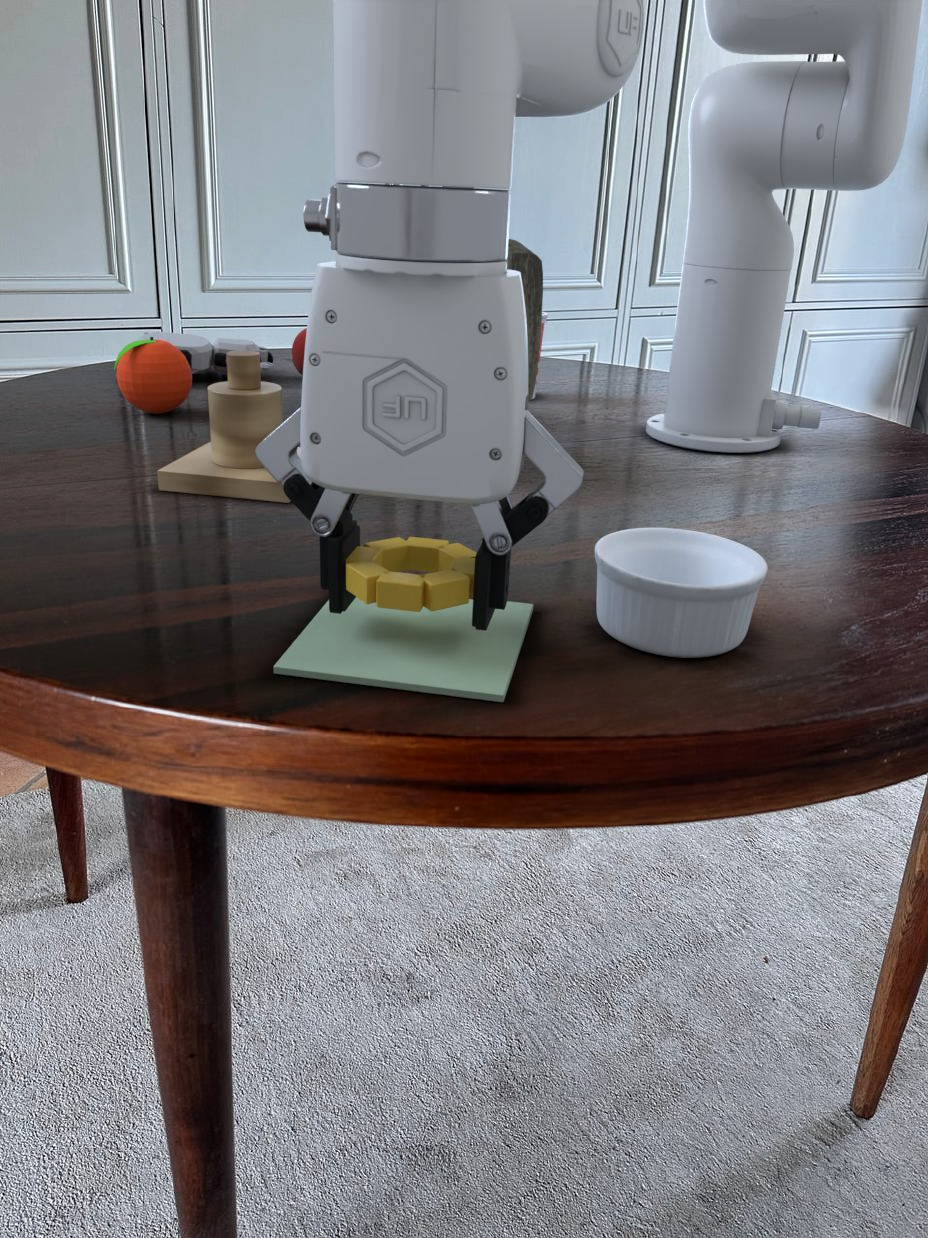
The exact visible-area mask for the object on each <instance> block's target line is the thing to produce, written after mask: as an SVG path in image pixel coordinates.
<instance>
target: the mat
mask: <svg viewBox="0 0 928 1238" xmlns="http://www.w3.org/2000/svg"><path fill="white" fill-rule="evenodd" d="M472 611H473V600H472V599H469V603H468V604H463V605H459V606H455V607H450V608H446V609H441V610H437V611H430V610H428V609H427V608H425V607H424V606H423V608H422V610H421V611H420V612H414V611H405V610H396V609H388V608H379V607H377V606H376V603H371V604H366V603H365V602H363V601H362V600H360V599H359V598H357V597H356V598H355V599H354V601H353V602H352V603H351V604H350V606H349V607H348V608H347V610H346V611H345V612H342V613H341V614H337V613H330V611H329V599H328V600H327V601H326V602H325V604H324V605H323V606H322V607H321V609H320V610H319V611H318V612H317V613H316V615H315V616H314V617H313V618H312V619H311V620H310V621H309V623H308V624H307V625H306V627H305V628H304V629H303V630H302V631H301V633H300V634H299V635H298V636H297V638H296V639H294V641H293V642H292V643H291V645H290V646H289V647H288V648H287V650H286V651H285V652H284V653H283V654H282V655H281V657H280V658H279V659H278V660H277V661H276V662H275V664H274V665H273V674H274V675H275V674H276V675H283V676H292V677H297V678H299V677H300V678H306V679H315V680H322V681H330V682H338V683H346V684H354V685H363V686H370V687H377V688H378V687H379V688H386V689H393V690H394V689H395V690H401V691H408V692H417V693H426V694H433V695H440V696H447V697H448V696H449V697H458V698H465V699H474V700H482V701H488V702H497V703H504V702H505V698H506V695H507V692H508V690H509V686H510V683H511V680H512V677H513V674H514V670H515V667H516V664H517V661H518V658H519V655H520V652H521V649H522V646H523V643H524V639H525V636H526V634H527V630H528V627H529V624H530V621H531V618H532V615H533V612H534V603H528V602H520V601H519V602H518V601H509V600H507V604H506V607H505V609H504V610H501V609H495V611H494V614H493V616H492V618H491V621H490V623H489V626H488V628H487V630H486V631H484V630H476V628H475V627H473V626H472Z"/></svg>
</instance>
